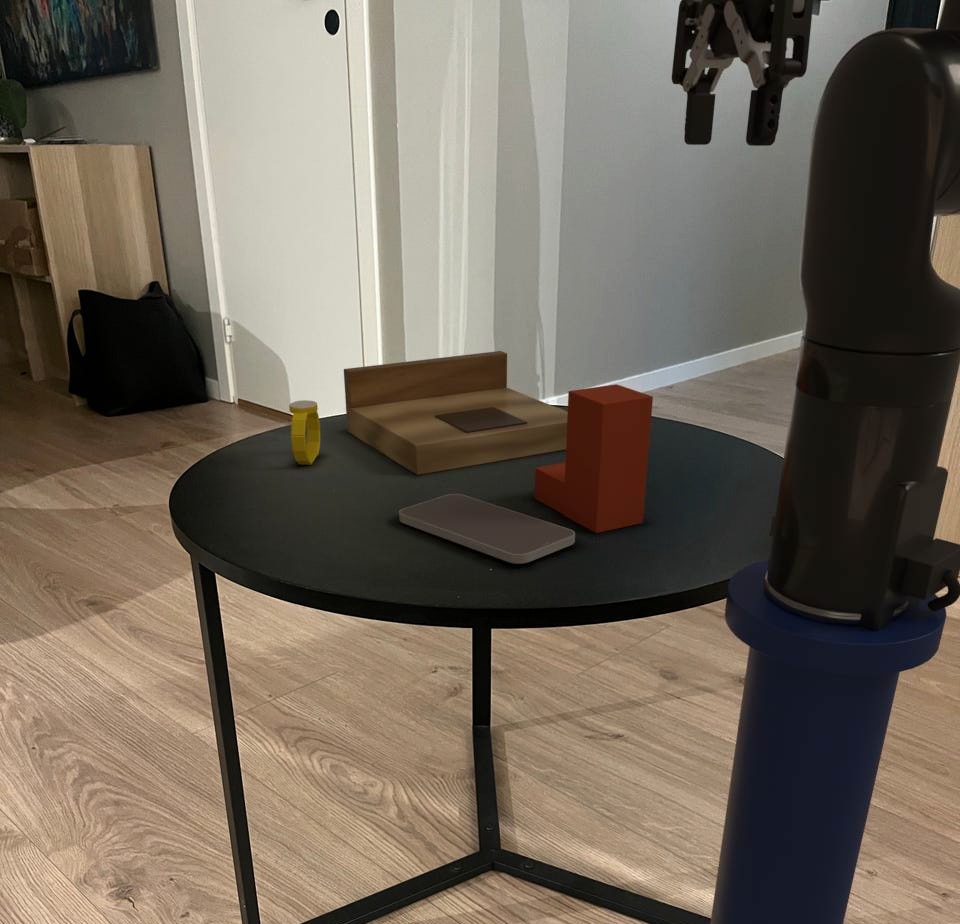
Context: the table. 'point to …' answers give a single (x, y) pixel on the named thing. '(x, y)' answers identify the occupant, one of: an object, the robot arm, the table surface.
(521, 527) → the smartphone
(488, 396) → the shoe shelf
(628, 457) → the boot
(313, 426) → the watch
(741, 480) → the table surface
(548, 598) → the table surface
